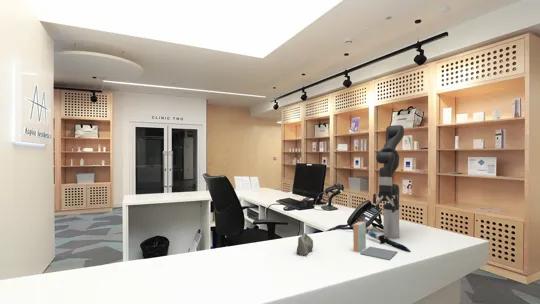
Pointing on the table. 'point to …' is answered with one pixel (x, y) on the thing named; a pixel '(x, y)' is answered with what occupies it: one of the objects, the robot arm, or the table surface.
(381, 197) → the robot arm
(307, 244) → the mineral rock
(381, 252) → the slate mat
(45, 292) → the table surface
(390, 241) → the knife
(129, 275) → the table surface
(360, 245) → the tile
